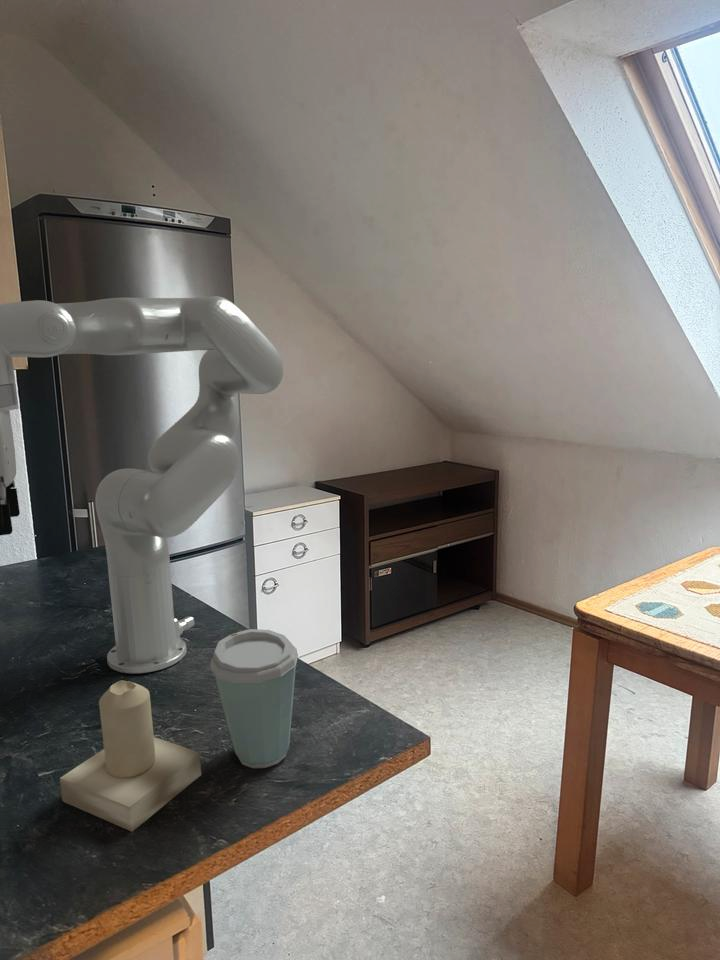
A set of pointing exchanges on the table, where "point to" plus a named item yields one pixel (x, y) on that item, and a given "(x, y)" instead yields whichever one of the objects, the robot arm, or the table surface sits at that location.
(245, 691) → the disposable coffee cup
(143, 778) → the plinth
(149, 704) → the candle
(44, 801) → the table surface
